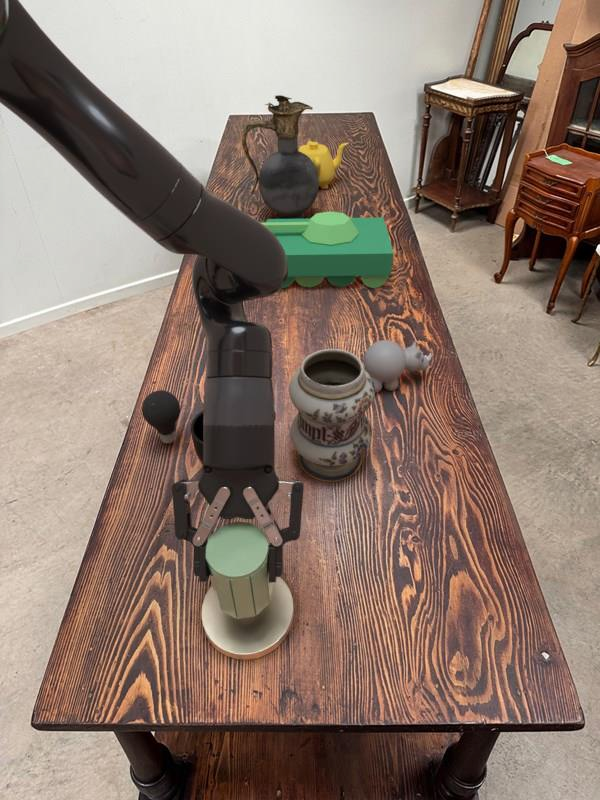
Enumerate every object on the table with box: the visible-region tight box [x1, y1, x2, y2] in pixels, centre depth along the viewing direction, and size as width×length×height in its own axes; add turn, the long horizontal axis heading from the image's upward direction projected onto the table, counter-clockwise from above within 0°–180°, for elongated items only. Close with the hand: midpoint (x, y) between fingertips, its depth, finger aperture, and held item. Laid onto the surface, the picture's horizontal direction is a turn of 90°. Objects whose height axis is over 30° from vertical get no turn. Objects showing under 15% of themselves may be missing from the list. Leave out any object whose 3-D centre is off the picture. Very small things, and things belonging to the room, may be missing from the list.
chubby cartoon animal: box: [363, 339, 433, 393], centre depth 93 cm, size 7×12×8 cm, turn 96°
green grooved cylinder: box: [205, 521, 273, 619], centre depth 58 cm, size 6×7×9 cm
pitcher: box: [241, 94, 320, 219], centre depth 135 cm, size 11×19×30 cm, turn 95°
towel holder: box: [200, 577, 295, 661], centre depth 60 cm, size 11×11×14 cm
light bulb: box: [141, 389, 181, 444], centre depth 83 cm, size 6×6×10 cm
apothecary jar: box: [288, 348, 376, 483], centre depth 77 cm, size 12×12×18 cm
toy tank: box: [261, 210, 394, 289], centre depth 121 cm, size 18×12×35 cm
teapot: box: [298, 140, 349, 190], centre depth 158 cm, size 14×14×12 cm
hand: (238, 579), depth 56 cm, fingers closed on green grooved cylinder, 6 cm apart
